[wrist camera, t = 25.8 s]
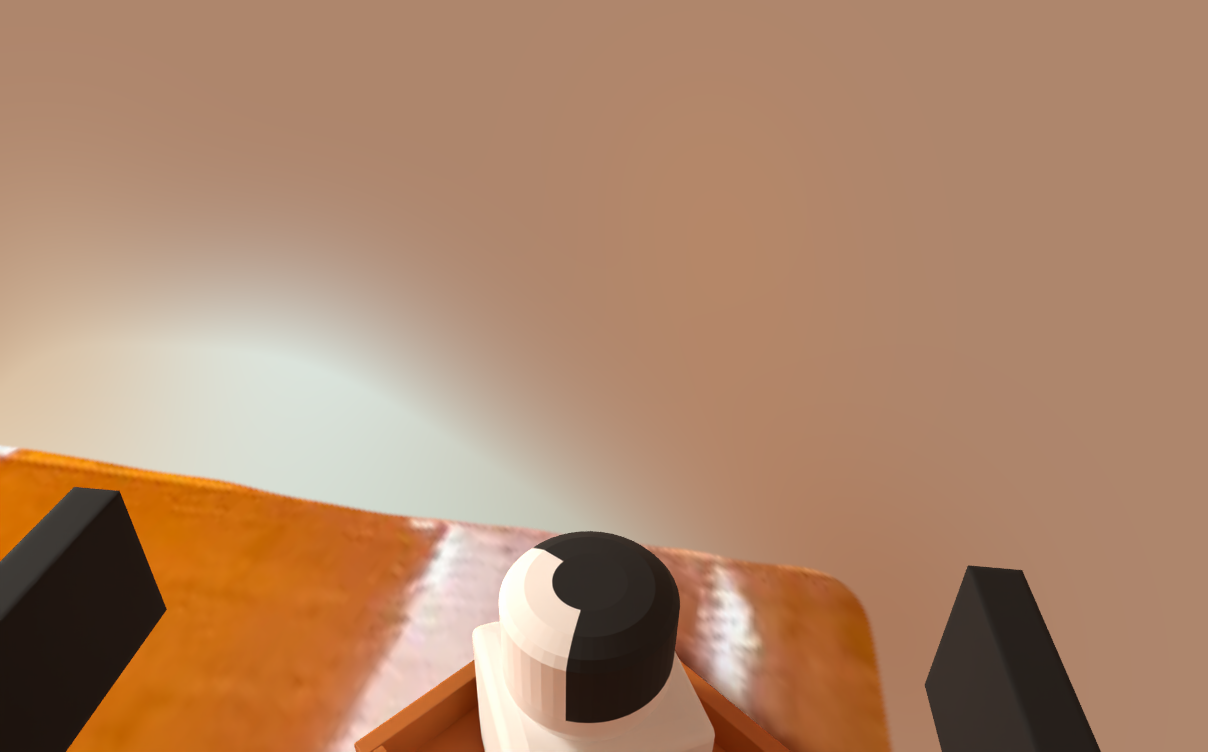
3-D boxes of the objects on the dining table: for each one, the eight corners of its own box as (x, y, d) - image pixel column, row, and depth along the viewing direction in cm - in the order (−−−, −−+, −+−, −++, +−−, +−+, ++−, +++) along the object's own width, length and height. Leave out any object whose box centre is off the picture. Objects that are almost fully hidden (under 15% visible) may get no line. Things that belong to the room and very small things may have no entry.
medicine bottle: (634, 691, 37) (650, 491, 31) (700, 843, 32) (736, 638, 25) (480, 734, 35) (461, 530, 29) (520, 906, 30) (509, 701, 23)
